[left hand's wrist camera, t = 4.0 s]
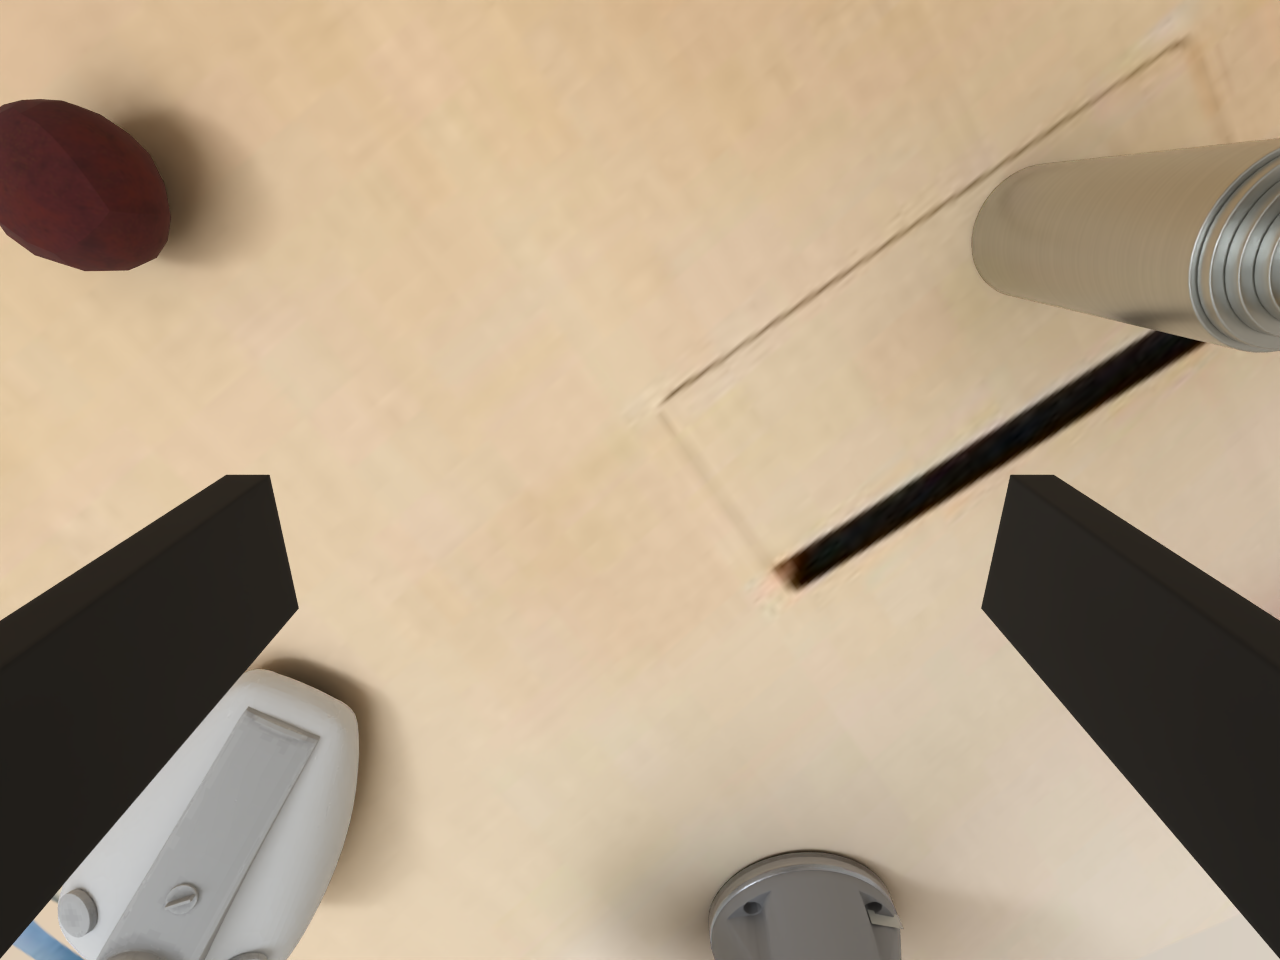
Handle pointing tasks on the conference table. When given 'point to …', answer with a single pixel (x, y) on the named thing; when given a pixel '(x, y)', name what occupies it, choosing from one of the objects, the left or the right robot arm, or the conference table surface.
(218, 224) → the conference table surface
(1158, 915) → the conference table surface
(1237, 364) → the conference table surface
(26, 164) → the potato
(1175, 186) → the bottle
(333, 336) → the conference table surface
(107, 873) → the projector
